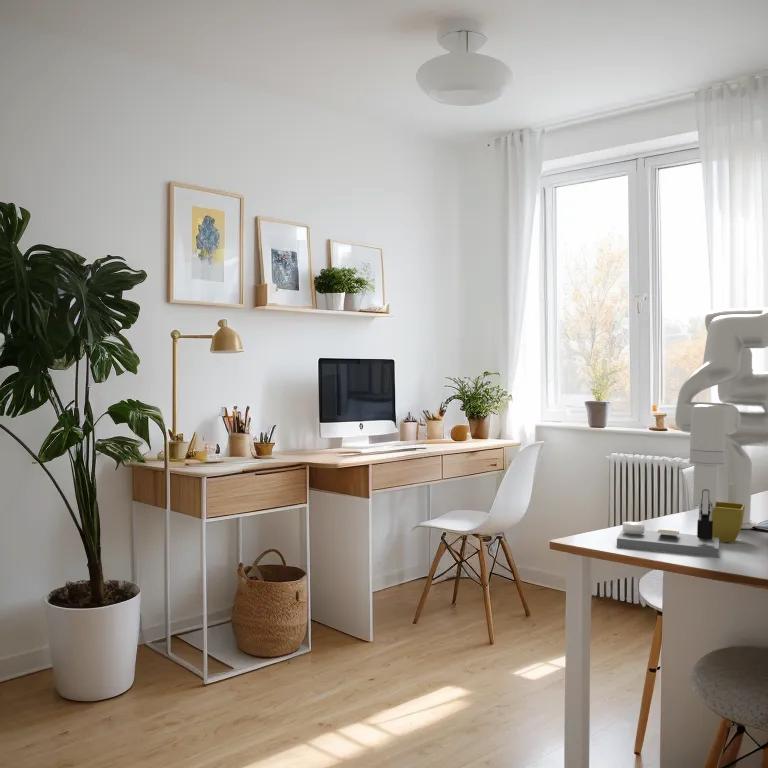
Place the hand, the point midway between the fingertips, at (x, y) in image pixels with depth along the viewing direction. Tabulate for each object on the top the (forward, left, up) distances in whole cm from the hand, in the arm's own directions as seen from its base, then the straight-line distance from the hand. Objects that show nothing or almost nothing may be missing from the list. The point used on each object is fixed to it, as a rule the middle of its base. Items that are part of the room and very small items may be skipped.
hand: (704, 537), depth 177 cm
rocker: (-3, -8, -1) cm, 9 cm away
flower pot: (-17, +4, -4) cm, 18 cm away
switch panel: (-3, -8, -4) cm, 9 cm away
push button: (-3, -16, -1) cm, 16 cm away
